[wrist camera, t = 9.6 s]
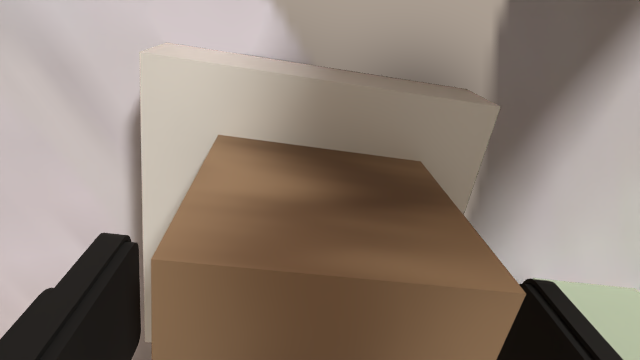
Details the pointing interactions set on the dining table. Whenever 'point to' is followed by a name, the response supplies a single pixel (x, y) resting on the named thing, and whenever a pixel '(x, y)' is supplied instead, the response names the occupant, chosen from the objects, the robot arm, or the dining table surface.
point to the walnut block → (324, 263)
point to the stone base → (292, 123)
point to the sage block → (609, 313)
